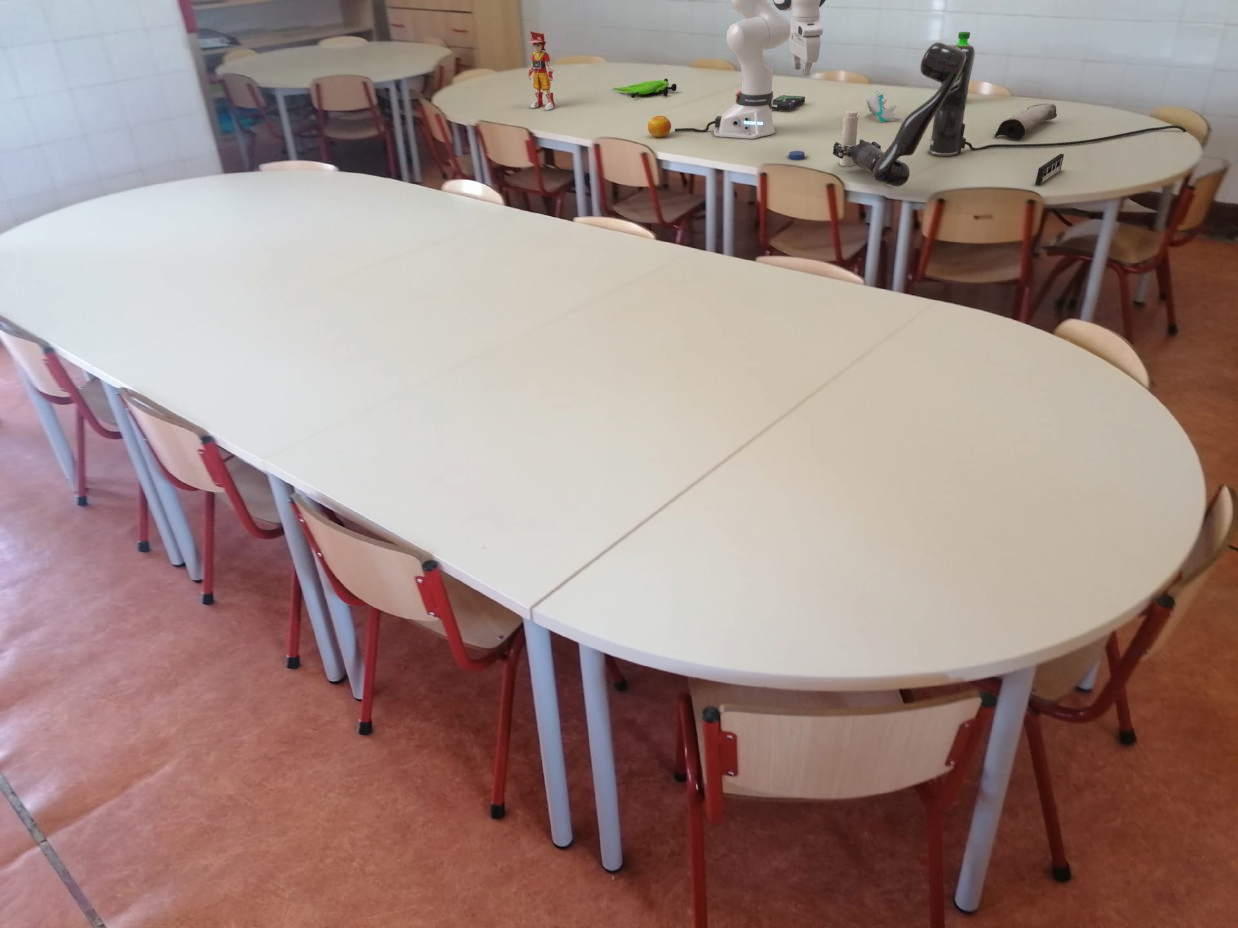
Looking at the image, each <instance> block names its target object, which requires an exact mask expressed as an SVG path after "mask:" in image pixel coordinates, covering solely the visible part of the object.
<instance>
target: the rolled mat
mask: <svg viewBox="0 0 1238 928" xmlns="http://www.w3.org/2000/svg"><path fill="white" fill-rule="evenodd" d="M1057 116H1058V114H1057V106H1056V104H1055V103H1039V104H1033V105H1030V106H1028V107H1027V108H1026V109H1025V110H1023V111H1021V112H1019V113H1017V114H1015V115H1013V116H1011V117H1009V118H1007V119H1005V120H1003V121H1002V122H1001V123H1000V124H999V126H998V128H997V130H996V132H995V133H994V136H993V137H994V138H998V137H999V136H1004V137H1005V138H1006V137H1007V139H1008V140H1015V141H1021V140H1023V138H1025V137H1026V136H1027V135H1028V134H1029V133H1030V132H1031V131H1032V130H1033V129H1034V128H1036V127H1037V126H1038V125H1039V124H1041V123H1042V122H1044V121H1045V122H1046V121H1051V120H1054V119H1055V118H1057Z"/></svg>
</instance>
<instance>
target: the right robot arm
mask: <svg viewBox="0 0 1238 928" xmlns="http://www.w3.org/2000/svg"><path fill="white" fill-rule="evenodd" d="M974 55H975V56H976V51H975V48H974V46H973V45H971V46H968V45H956V44H945V43H943V42H938V41H937V42H934V43H932V44H931V45H930V46H929V47H928V48H927V50H925V53H924V54H923V55H922V57H921V58H922V59H921V61H920V67H919V69H920V73H921V75H922V76H923V77H925V78H928V79H930V80H932V81H935V82H937V83H940V86H939V88H938V89H937V90H936V92H935V93H934V94H933V95H932V96H931V97H930V98H929V99H928V100H927V101H925V102H924V103H922V104H921V105H920V106H918V107H917V108H915V109H914V110H913V111H911V112H910V113H909V114H908V115H907V116H906V117H905V118H904V120H903V121H902V122H901V124H900V127H899V129H898V130H897V133H896V135H895V137H894V138H893V141H892V142H891V144H890V145H889V146H888V148H887V149H886V150H885V151H882V150H881V149H882V146H881V145H880V144H879V143H878V142H876V141H871V142H870V141H865V140H864V139H859V143H858V144H856V145H848V144H846V145H841V143H839V142H838V141H836V142H834V144H833V147H832V148H833V149H832V155H833V156H835V157H837V158H839V159H840V158H841V159H842V158H843V156H847V157H851V158H852V160H853V162H854V165H856V166H857V167H858V168H860V169H862V170H863V171H865V172H867V173H869V174H870V175H872V176H873V179H874V180H875V181H876V182H878V183H881V184H884V185H887V186H892V187H896V188H898V187H902V186H904V185H905V184H906V183H907V182H908V181H909V178H910V174H911V173H910V171H911V170H910V168H909V166H908V165H907V163H905V162H903V161H901V160H900V159H899V158H900V157H911V156H913V155H914V154H915V152H916V151H917V150H918V146H919V145H920V143H921V141H922V138H923V137H924V134H925V133H926V130H927V129H928V127H929V125H930V123H931V122H933V123H932V129H931V136H930V139H929V144H930V145H929V149H928V153H929V154H931V156H932V155H933V156H936V157H953V156H956V155H959V154H962V150H964V149H965V148H966V145H967V146H968V148H969V150H971V151H981V150H982V151H983V150H986V149H989V148H1035V147H1037V148H1038V147H1039V148H1040V147H1058V146H1070V145H1078V144H1079V145H1080V144H1087V143H1094V142H1099V141H1105V140H1106V141H1107V140H1110V139H1115V138H1121V137H1126V136H1130V135H1131V136H1132V135H1136V134H1142V133H1145V132H1153V131H1154V132H1155V131H1163V130H1168V129H1177V130H1180V131H1182V132H1184V133H1187V132H1188V131H1187V130H1186V128H1184V127H1183V126H1181V125H1177V124H1176V125H1175V124H1174V125H1165V126H1159V127H1149V128H1144V129H1138V130H1133V131H1128V132H1123V133H1119V134H1113V135H1108V136H1103V137H1097V138H1091V139H1084V140H1083V139H1082V140H1075V141H1074V140H1073V141H1066V142H1048V143H1014V144H1012V143H996V144H986V145H984V146H980V147H973V145H972V143H971V142H969V141H967V138H966V137H964V135H965V129H966V124H965V122H964V117H965V113H966V112H965V111H966V106H967V105H966V104H967V99H968V95H967V93H968V94H969V86H970V81H971V76H972V70H973V66H974V62H975V58H974ZM958 77H960V79H959V81H957V82H956V80H957V78H958ZM955 82H956V83H955ZM932 120H933V121H932ZM848 147H849V149H848ZM842 148H844V149H842ZM847 149H848V150H847Z"/></svg>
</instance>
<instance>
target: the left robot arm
mask: <svg viewBox="0 0 1238 928" xmlns="http://www.w3.org/2000/svg"><path fill="white" fill-rule="evenodd" d="M826 1H827V0H772V2H773V5H774V6H775V8H776V9H777V10H779V11H783V12H789V11H791V14H790V21H789V19H788V18H787V17H786V16H785V15H783V14H781V13H780V12H779V11H777V10H776V9H775V8H774V6H773V5H772V4H771V3H770V2H769V1H768V0H730V4H731V6H732V8H733V9H734V10H735V11H736V12H738V13H740V14H741V15H743V16H744V17H745V18H744V19H741V20H738V21H735V22H734V23H732V24H731V25H730V26H729V27H728V28H727V31H726V36H725V38H726V39H725V40H726V41H725V42H726V45H727V47H728V49H729V50H730V52H732V53H733V54H734V55H735V56H736V59H737V60H738V63H739V67H740V73H741V74H740V75H741V90H737V91H736V92H735V103H734V104H733V105H732V106H730V107H729V108H727V110H726V111H724V113H722V114H721V115H717V116H716V117H715V119H714V120H712V121H710V122H708V123H707V124H706V127H705V128H704V129H699V128H693V127H680V128H674V132H697V133H706V132H708V131H709V129H710V126H711V125H714V130H713V135H714V136H715V137H721V138H722V137H723V138H736V139H737V138H738V139H750V140H753V139H754V140H755V139H758V138H761V137H766V136H770V135H773V134H774V133H775V132H776V131H775V127H774V120H773V110H772V106H773V100H774V91H773V77H774V76H773V75H774V71H773V68H772V66H771V65H770V64H769V63H768V62H766V61H765V59H764V54H763V51H766V50H771V49H775V48H778V47H779V46H782V45H783V44H785V43H787V42H788V51H789V53H791V54H793V55H792V56H793V57H792V58H793V68H794V69H795V70H796V71H797V70H798V71H799V70H801V67H802V63H801V60H802V61H803V62H804V63H803V64H804V67H803V69H802V75H803V76H805V77H809V76H810V74H811V68H812V66H813V63H817V62H818V60H819V56H820V50H821V40H822V39H821V36H822V35H823V33H824V29H823V28H824V27H823V26H822V24H821V20H820V19H821V17H820V16H821V11H820V8H821V7H822V6H823V5H824V3H825V2H826ZM788 40H789V41H788Z"/></svg>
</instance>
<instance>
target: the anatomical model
mask: <svg viewBox="0 0 1238 928" xmlns="http://www.w3.org/2000/svg"><path fill="white" fill-rule="evenodd" d="M865 101H866V104H867V108H868V110H869V112H870V113H872V114H876V115H877V118H878V119H879V121H880V122H881V123H884V122H888V121H892V120H893V121H894V120H895V121H898V120H900V119H901V116H900V115H895V113H894V111H895V109H896V108H897V105H893V106H890V107H885V104H886V103H887V101H888V99H887V98H886V99H884V94H883V93H881V92H880V91H878V90H876V91H875V92H874V94H873V95H872V96H869V97H867V98H866V100H865Z"/></svg>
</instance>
